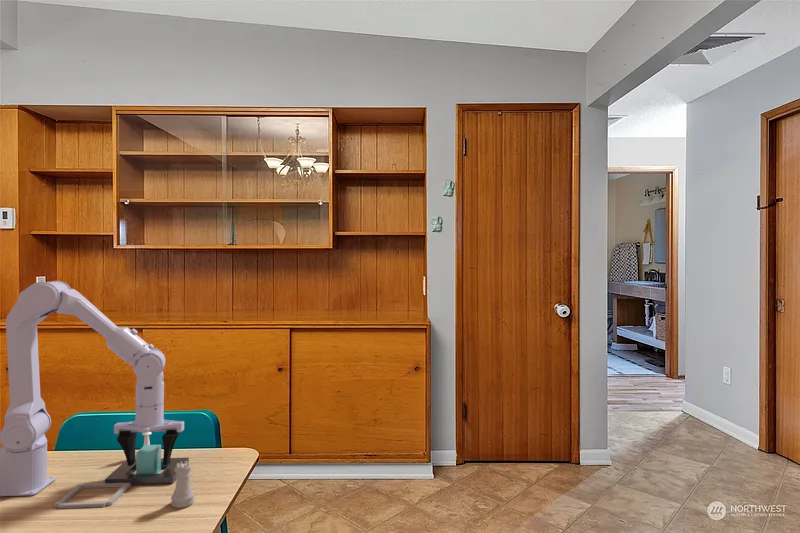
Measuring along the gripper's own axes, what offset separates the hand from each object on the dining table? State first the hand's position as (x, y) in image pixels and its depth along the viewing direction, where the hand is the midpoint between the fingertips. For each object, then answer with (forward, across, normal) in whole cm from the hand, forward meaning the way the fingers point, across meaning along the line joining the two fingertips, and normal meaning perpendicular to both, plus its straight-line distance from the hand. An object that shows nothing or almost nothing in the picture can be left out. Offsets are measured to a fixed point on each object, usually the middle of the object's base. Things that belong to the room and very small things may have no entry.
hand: (149, 463), depth 112 cm
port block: (+2, 0, 0) cm, 2 cm away
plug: (+2, 0, 0) cm, 3 cm away
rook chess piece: (+3, +12, -15) cm, 19 cm away
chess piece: (+3, -5, +11) cm, 13 cm away
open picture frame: (+2, -7, -10) cm, 12 cm away
